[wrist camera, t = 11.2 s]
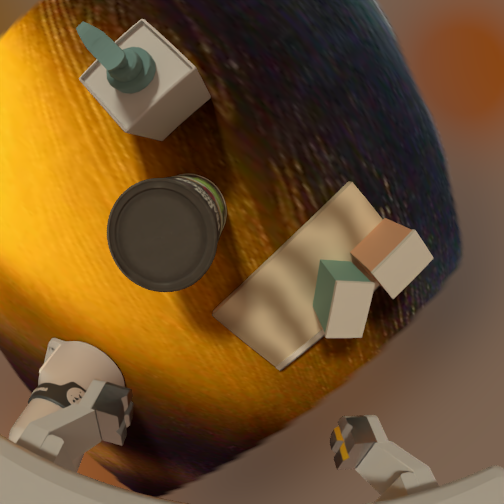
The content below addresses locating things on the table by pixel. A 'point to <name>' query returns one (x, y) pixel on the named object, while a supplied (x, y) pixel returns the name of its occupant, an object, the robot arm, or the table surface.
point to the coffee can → (166, 231)
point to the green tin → (342, 299)
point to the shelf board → (297, 280)
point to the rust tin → (392, 255)
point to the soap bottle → (142, 80)
